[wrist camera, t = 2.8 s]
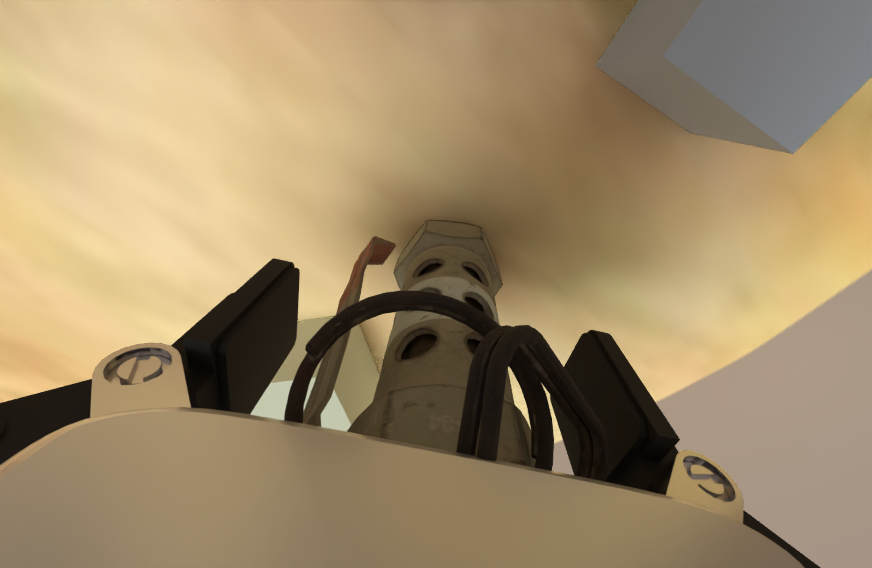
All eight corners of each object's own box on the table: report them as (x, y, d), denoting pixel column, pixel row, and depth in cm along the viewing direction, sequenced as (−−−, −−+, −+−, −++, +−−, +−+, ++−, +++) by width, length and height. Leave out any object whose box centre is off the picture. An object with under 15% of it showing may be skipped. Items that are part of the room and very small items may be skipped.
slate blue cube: (702, -100, 11) (866, -222, 7) (806, -5, 12) (1009, -58, 8) (594, 66, 13) (662, 56, 9) (689, 133, 14) (792, 154, 10)
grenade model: (541, 221, 16) (895, 766, 3) (452, 316, 19) (447, 798, 6) (432, 134, 15) (239, 534, 2) (352, 252, 17) (58, 730, 4)
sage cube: (275, 324, 20) (226, 388, 16) (355, 311, 19) (326, 375, 15) (308, 384, 23) (273, 455, 18) (380, 375, 22) (362, 446, 18)
